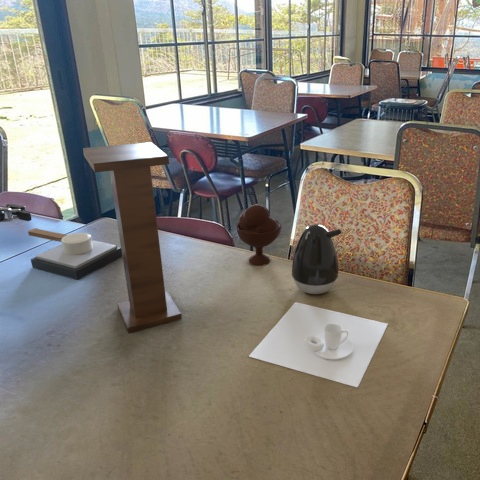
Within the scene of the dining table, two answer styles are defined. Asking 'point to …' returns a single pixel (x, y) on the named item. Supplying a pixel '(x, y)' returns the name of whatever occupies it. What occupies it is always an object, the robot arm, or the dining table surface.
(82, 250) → the white handled cylinder
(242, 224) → the ice cream bowl
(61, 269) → the scale
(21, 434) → the dining table surface
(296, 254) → the pump dispenser
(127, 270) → the wooden lectern stand
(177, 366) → the dining table surface
